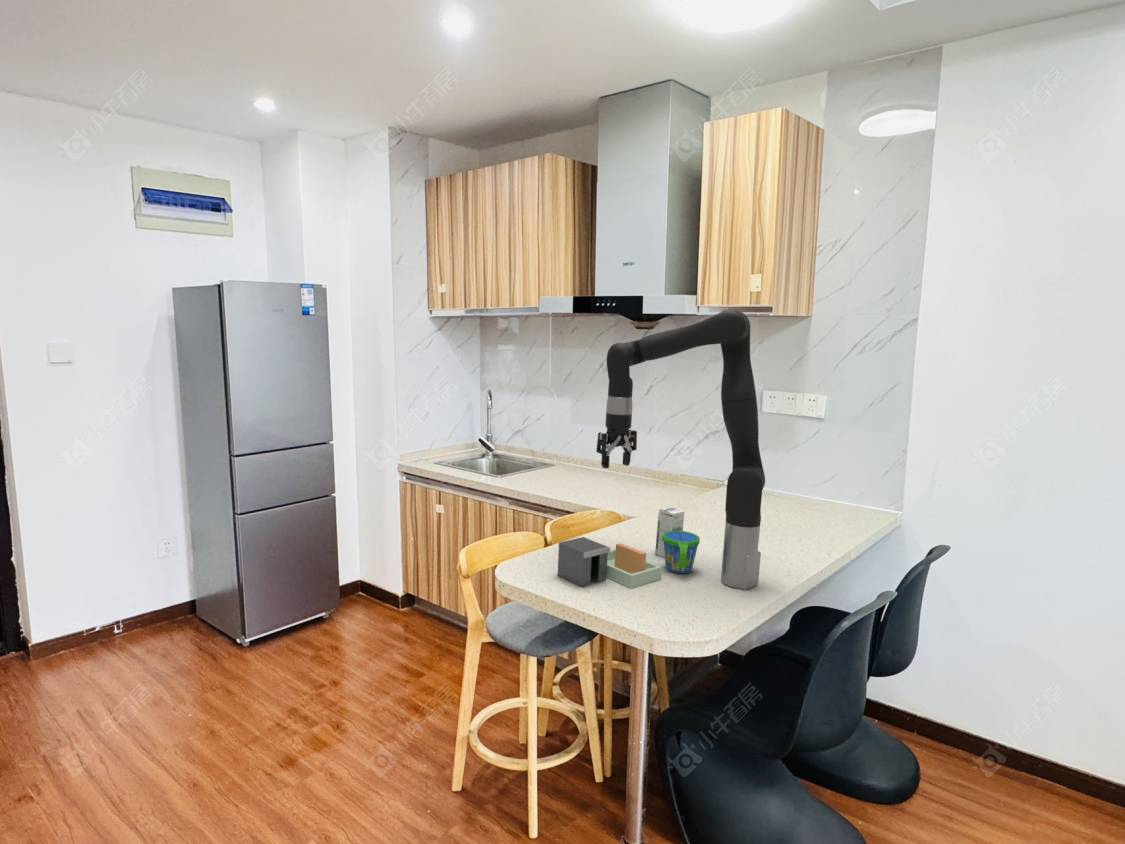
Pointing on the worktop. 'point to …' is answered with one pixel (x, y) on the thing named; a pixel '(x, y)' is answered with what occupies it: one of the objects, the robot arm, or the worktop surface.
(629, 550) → the brown rectangular block
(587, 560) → the box
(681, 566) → the snack cup
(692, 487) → the worktop surface
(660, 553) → the syrup box
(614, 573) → the tray
